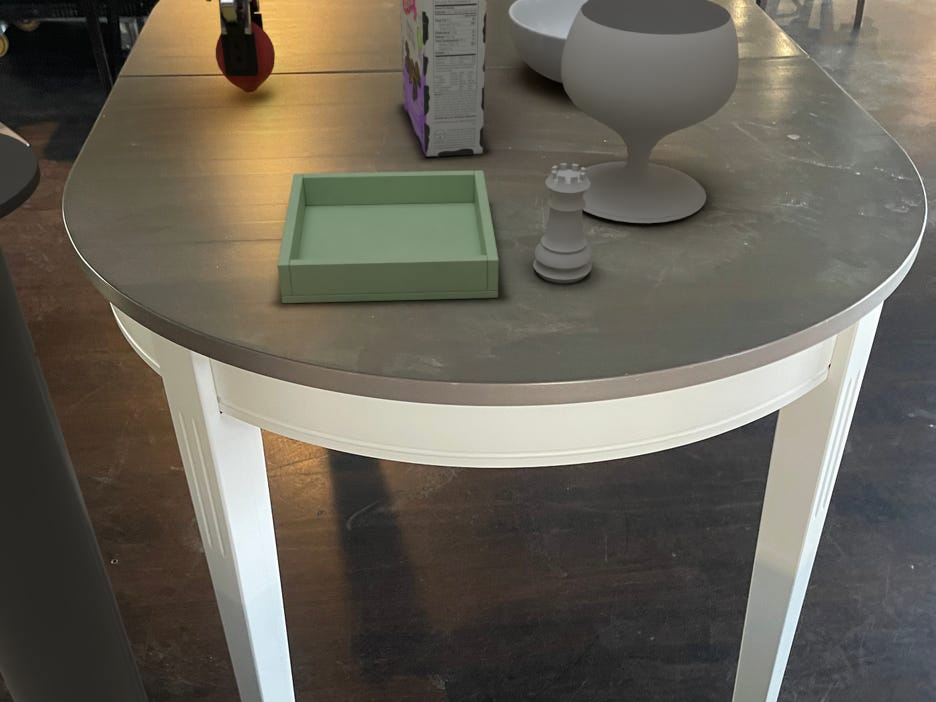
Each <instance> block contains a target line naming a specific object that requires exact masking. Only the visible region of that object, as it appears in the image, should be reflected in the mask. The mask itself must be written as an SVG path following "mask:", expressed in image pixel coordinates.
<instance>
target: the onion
mask: <svg viewBox="0 0 936 702" xmlns="http://www.w3.org/2000/svg"><path fill="white" fill-rule="evenodd" d="M241 12H242V13H243V9H242V10H241ZM242 16H243V15H242ZM251 32H255V39H256V49H257V58H258V67H259V73H258V75H257V76H228V75H227V74H226V72H225V64H224V56H223V49H222V41H221V33H220V34H219V36H218V39H217V41H216V46H215V60H216V63H217V66H218V69H219V70H220V72H221V73H222V74H223V76H224V77H225V79H226V80H227V81H229V82H230V83H231V84H232V85H233V86H235V87H236V88H237V89H240V90H242V91H243V92H245V93H247V94H248V93H249V94H253V93H254V92H256V91H257V90H258V88H259V87H260V86H261V85H262V84H263V83H264V82H266V80H267V79H268V78H269V77H270V76H271V75H272V73H273V70H274V68H275V63H276V62H275V61H276V60H275V59H276V53H275V47H274V44H273V42H272V40H271V37H269V34H267V32H266V31H265V30H264V28H263V29H262V28H261V27H259V26H258V25H257V24H255V23H254V22H252V21H251Z"/></svg>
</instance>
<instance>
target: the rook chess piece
mask: <svg viewBox="0 0 936 702" xmlns="http://www.w3.org/2000/svg"><path fill="white" fill-rule="evenodd" d="M567 164H568V163H567V162H562V163H559V166H558V165H553V166H552V167H551V170H550V175H549V176H548V177H547V178H546V179H545V183H544V184H545V186H546V188H547V189H548V190H549V192H550V197H549V198H548V199H547V202H546V204H547V205H548V207H549V213H548V221H547V226H546V229H545V230H546V231H545V233H544V235H543V236H542V237H541V240H540V243H539V244H537V245H536V248H535V251H534V257H535V259H534V260H533V264H532V267H533V268H534V270H535V271H536V273H537V274H538V275H539V277H541V278H542V279H544V280H545V281H548V282H551V283H556V284H571V283H577V282H579V281H581V280H583V279H585V277H586V276H587V275H588V274H589V273H590V272H591V271H592V263H591V260H592V249H591V248H590V247H589V245H588V244H587V243H588V240H587V238H585V234H584V224H583V223H584V222H583V211H584V210H583V208H584V207H585V206H586V202H585V201H584V199H583V194H584V193H585V192H586V191H587V190H588V188H589V187H590V184H591V183H590V181H589V180H588V178H587V177H586V169H585V168H586V167H584V166H582V167H580V164H579V163H572V164H571V168H570V169H569V168H568V165H567Z"/></svg>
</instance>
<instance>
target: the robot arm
mask: <svg viewBox="0 0 936 702" xmlns="http://www.w3.org/2000/svg"><path fill="white" fill-rule="evenodd" d="M205 1H206V2H212V0H205ZM218 9H219V22H220V34H221V41H222V49H223V56H224V64H225V72H226V74H227V75H228V76H257V75H258V73H259V67H258V58H257V49H256V39H255V32H251V21H252V22H254V23H255V24H257V25H258V26H259V27H261V28H262V29H263V30H264V24H263V23H264V22H263V14H262V13H260V10H261V7H260V0H218ZM242 9H243V13H242V12H241V10H242ZM242 15H243V16H242Z"/></svg>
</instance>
